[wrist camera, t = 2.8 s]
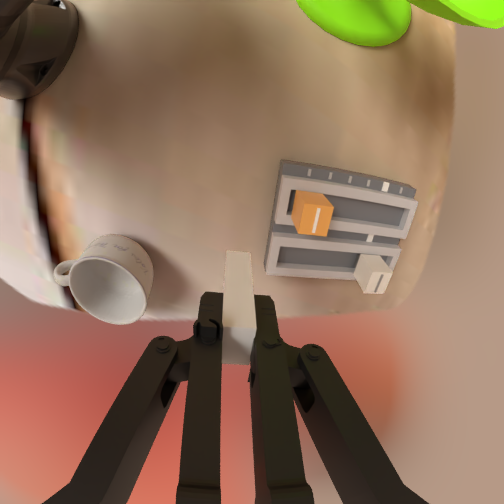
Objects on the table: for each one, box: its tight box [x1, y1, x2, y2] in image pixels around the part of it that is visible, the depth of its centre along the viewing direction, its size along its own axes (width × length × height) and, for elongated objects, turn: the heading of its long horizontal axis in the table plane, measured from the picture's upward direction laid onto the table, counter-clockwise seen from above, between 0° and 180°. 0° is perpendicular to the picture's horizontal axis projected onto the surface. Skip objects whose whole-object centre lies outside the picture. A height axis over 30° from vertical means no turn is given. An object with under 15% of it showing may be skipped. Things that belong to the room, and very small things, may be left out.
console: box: [264, 160, 418, 280], centre depth 33 cm, size 14×18×3 cm
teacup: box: [54, 234, 154, 325], centre depth 32 cm, size 14×11×8 cm
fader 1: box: [291, 190, 334, 236], centre depth 28 cm, size 3×3×5 cm
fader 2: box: [353, 254, 393, 294], centre depth 33 cm, size 3×3×5 cm
